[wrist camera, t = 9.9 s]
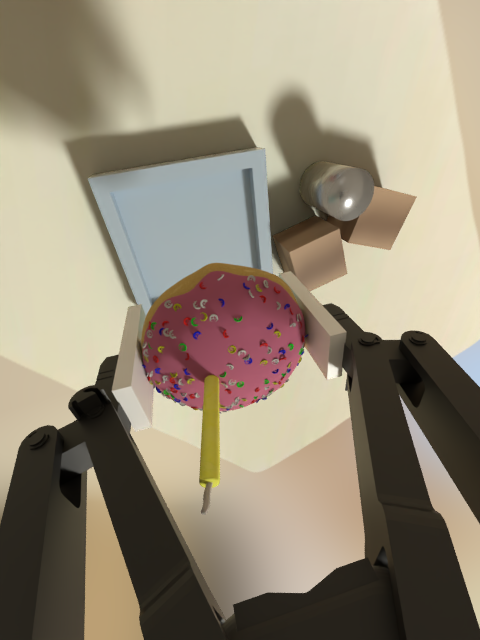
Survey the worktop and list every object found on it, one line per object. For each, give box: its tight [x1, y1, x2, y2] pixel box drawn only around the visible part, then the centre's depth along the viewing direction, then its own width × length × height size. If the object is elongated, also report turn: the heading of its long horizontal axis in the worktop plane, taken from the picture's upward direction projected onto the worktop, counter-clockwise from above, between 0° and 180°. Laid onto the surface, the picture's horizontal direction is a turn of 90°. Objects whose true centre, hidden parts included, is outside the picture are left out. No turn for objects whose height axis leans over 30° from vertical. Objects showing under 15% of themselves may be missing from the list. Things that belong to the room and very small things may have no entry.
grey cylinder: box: [300, 161, 374, 221], centre depth 25 cm, size 4×4×6 cm
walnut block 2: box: [327, 186, 416, 250], centre depth 28 cm, size 5×5×5 cm
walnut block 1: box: [272, 215, 347, 291], centre depth 29 cm, size 5×5×5 cm
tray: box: [87, 147, 273, 315], centre depth 27 cm, size 14×14×2 cm
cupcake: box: [141, 263, 308, 514], centre depth 13 cm, size 9×8×12 cm
